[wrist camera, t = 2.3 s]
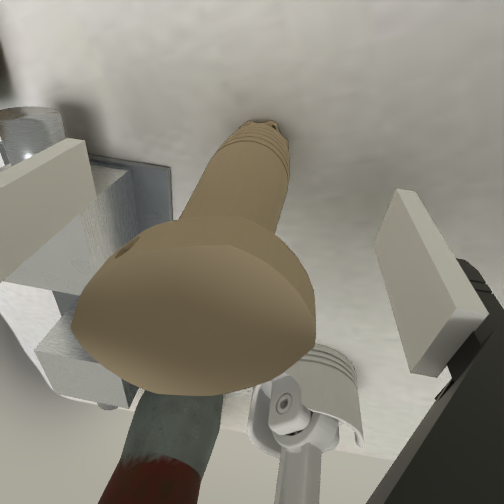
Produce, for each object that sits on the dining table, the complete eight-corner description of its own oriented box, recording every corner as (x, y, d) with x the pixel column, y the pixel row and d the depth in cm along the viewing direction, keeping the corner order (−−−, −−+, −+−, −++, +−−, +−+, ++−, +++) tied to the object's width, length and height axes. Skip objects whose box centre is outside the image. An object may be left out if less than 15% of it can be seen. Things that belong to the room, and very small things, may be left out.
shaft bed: (167, 112, 20) (113, 147, 14) (180, 373, 36) (158, 433, 31) (-17, 84, 20) (-132, 108, 15) (80, 352, 37) (41, 408, 32)
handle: (327, 148, 19) (351, 360, 7) (243, 198, 22) (162, 410, 10) (285, 74, 17) (224, 198, 5) (198, 139, 20) (33, 315, 8)
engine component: (376, 383, 32) (312, 328, 29) (441, 761, 16) (313, 734, 12) (292, 411, 38) (231, 367, 34) (277, 713, 21) (157, 686, 18)
